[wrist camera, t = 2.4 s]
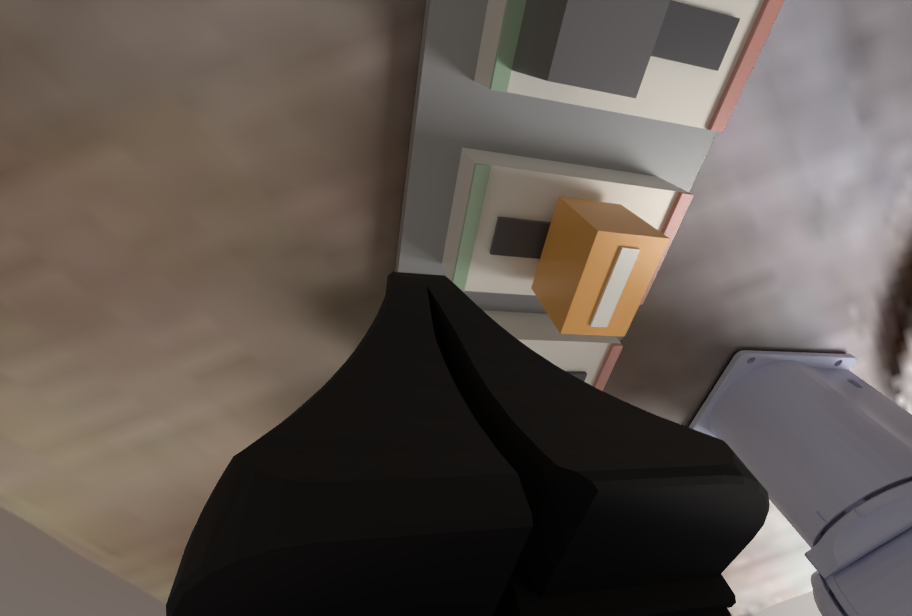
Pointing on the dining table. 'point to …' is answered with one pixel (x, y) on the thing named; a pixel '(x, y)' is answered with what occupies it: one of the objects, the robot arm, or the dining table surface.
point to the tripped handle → (596, 266)
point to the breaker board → (561, 137)
